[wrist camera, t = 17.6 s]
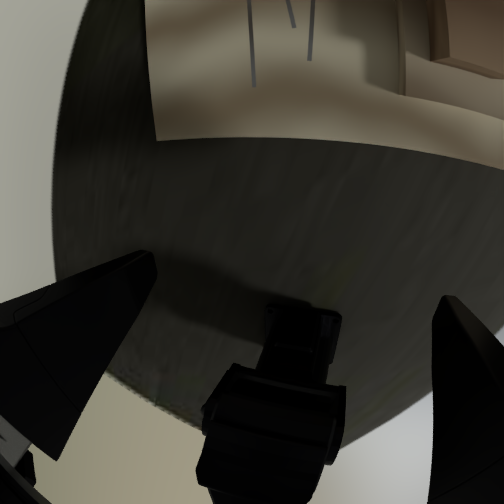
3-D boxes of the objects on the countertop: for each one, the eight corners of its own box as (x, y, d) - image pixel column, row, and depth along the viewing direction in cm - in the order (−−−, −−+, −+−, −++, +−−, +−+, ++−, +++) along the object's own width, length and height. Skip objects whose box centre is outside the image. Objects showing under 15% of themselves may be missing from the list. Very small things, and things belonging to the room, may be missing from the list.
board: (511, 168, 13) (521, 175, 12) (168, 136, 20) (156, 141, 18) (501, -43, 4) (509, -48, 3) (157, -53, 11) (145, -58, 10)
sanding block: (492, 116, 11) (537, 133, 7) (398, 94, 13) (420, 99, 9) (480, -32, 6) (514, -56, 2) (385, -58, 7) (393, -98, 3)
